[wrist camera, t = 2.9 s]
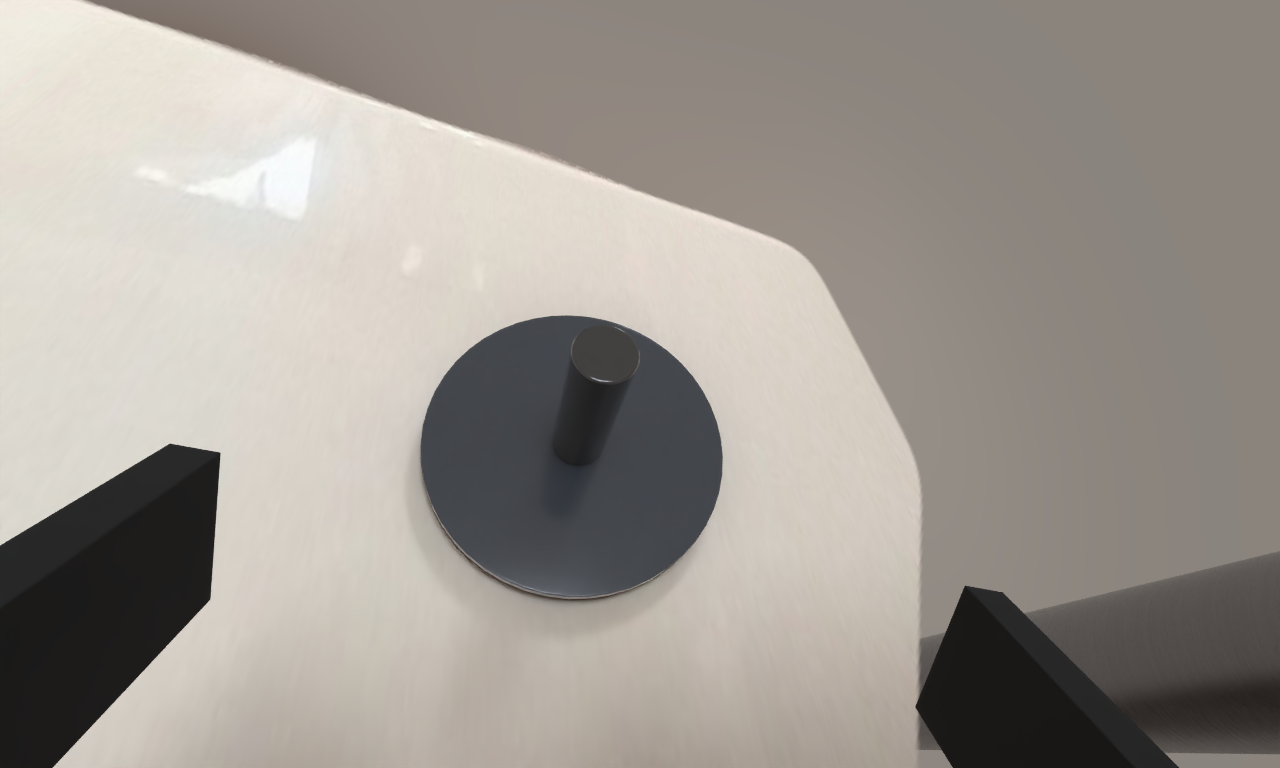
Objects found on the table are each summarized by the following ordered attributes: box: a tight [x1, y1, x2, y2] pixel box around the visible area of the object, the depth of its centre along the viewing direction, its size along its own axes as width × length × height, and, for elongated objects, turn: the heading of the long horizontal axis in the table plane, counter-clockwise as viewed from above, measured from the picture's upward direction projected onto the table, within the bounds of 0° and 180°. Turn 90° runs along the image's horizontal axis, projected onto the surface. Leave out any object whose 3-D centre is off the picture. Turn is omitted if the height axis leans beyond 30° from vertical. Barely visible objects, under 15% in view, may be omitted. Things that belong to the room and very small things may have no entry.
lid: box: [421, 316, 723, 599], centre depth 29 cm, size 15×15×10 cm
